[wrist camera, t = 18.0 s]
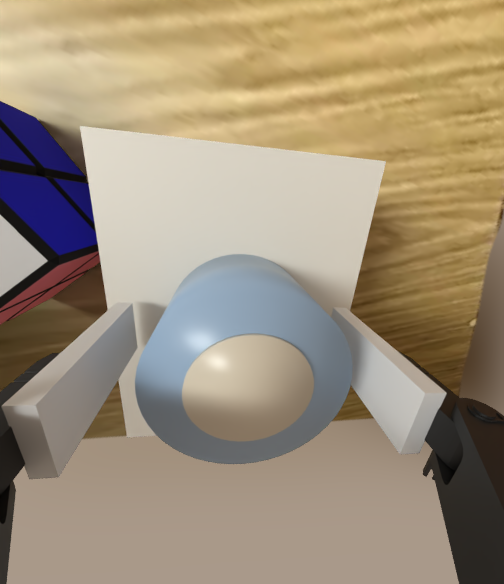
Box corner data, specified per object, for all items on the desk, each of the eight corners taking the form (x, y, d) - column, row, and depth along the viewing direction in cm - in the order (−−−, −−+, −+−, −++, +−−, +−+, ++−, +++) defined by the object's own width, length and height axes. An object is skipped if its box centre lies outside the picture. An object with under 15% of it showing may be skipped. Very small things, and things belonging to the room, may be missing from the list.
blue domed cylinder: (172, 377, 15) (143, 475, 9) (165, 250, 12) (119, 286, 6) (295, 374, 16) (332, 462, 10) (315, 257, 13) (380, 294, 8)
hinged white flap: (131, 426, 17) (127, 437, 16) (90, 131, 10) (80, 126, 10) (317, 418, 18) (321, 427, 18) (376, 164, 12) (385, 161, 12)
